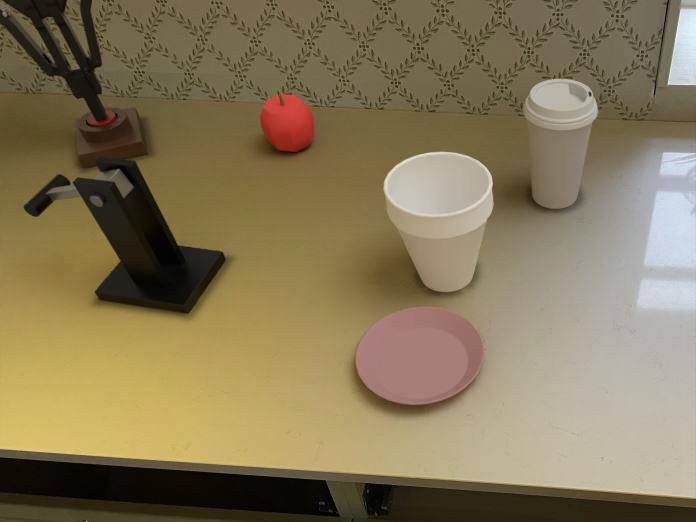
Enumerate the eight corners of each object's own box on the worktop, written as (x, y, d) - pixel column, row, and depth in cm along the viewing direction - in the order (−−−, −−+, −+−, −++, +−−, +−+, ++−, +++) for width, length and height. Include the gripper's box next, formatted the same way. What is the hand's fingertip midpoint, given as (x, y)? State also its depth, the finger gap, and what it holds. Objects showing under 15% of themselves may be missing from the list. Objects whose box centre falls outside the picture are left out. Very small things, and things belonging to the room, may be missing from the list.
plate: (382, 433, 68) (379, 422, 66) (343, 341, 76) (339, 329, 74) (505, 386, 71) (505, 375, 70) (456, 303, 80) (455, 291, 78)
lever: (34, 220, 74) (17, 202, 72) (66, 189, 78) (50, 172, 76) (113, 209, 70) (97, 190, 68) (143, 177, 74) (129, 158, 72)
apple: (299, 164, 98) (285, 114, 92) (257, 151, 100) (240, 102, 94) (329, 137, 103) (318, 88, 96) (288, 126, 105) (274, 77, 98)
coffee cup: (576, 222, 89) (586, 120, 77) (511, 206, 91) (512, 105, 80) (596, 183, 95) (608, 83, 83) (535, 169, 97) (538, 70, 85)
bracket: (99, 300, 80) (24, 192, 68) (143, 247, 86) (81, 139, 74) (188, 313, 79) (128, 205, 66) (226, 259, 85) (178, 151, 72)
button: (91, 124, 101) (86, 113, 99) (119, 118, 102) (113, 107, 100) (93, 137, 98) (87, 126, 97) (121, 131, 99) (115, 120, 98)
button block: (81, 132, 104) (68, 108, 101) (141, 119, 106) (129, 95, 103) (85, 168, 98) (71, 144, 95) (147, 154, 100) (136, 130, 97)
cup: (477, 316, 78) (472, 225, 67) (383, 296, 80) (364, 204, 70) (506, 252, 85) (506, 160, 75) (419, 235, 88) (407, 143, 77)
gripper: (-56, -45, 76) (54, 138, 95) (64, -63, 79) (148, 117, 98) (-52, -66, 80) (53, 113, 99) (62, -82, 84) (143, 94, 102)
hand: (100, 115), depth 98 cm, fingers closed
